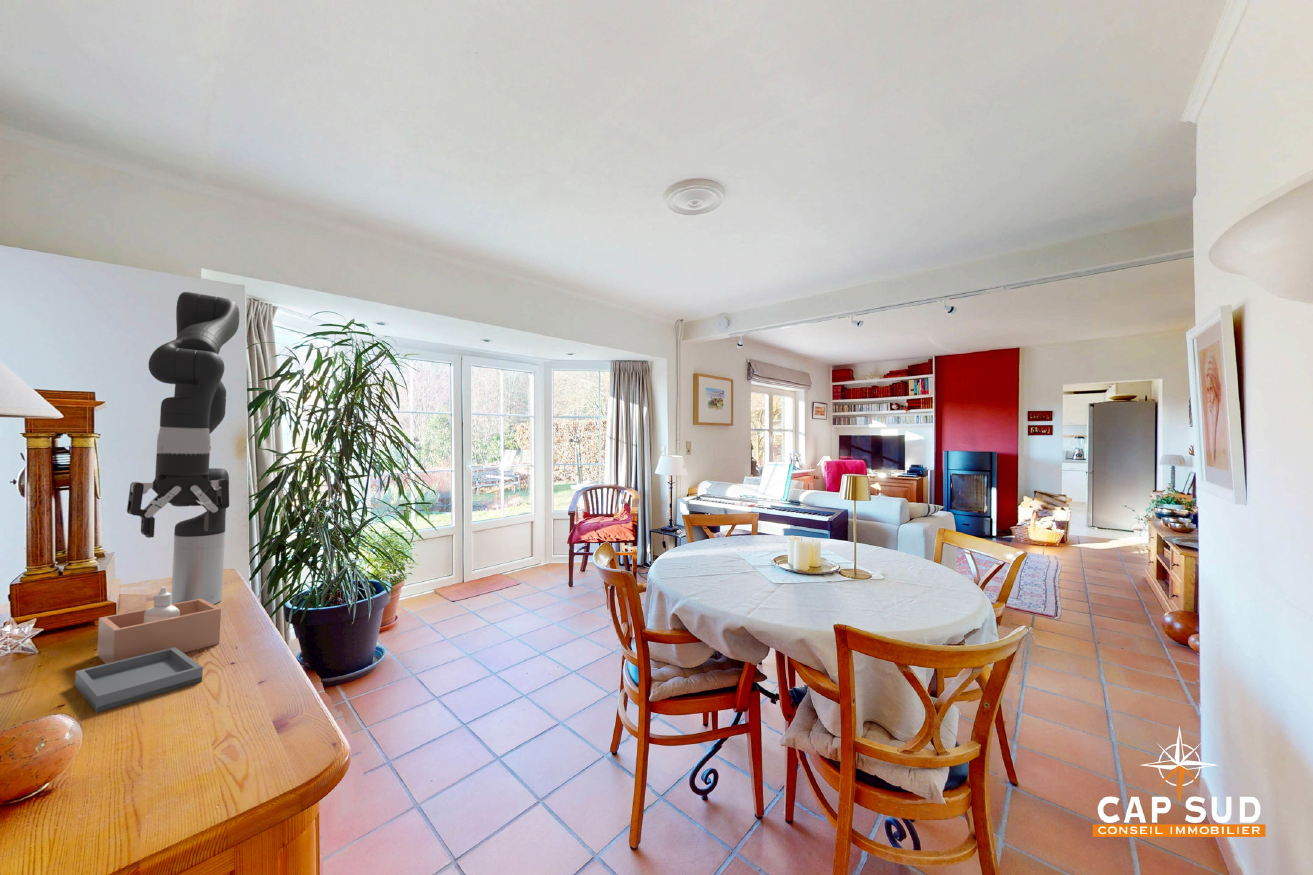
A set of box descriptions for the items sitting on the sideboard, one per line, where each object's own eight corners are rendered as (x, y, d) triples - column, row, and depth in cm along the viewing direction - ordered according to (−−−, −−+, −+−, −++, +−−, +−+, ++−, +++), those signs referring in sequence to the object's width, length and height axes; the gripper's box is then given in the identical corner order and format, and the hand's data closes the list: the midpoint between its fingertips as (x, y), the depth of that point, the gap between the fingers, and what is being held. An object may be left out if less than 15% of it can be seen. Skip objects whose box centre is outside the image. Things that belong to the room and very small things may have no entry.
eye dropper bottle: (147, 657, 92) (151, 592, 92) (140, 649, 95) (143, 586, 95) (179, 649, 95) (182, 587, 95) (171, 642, 98) (174, 582, 99)
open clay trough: (97, 655, 92) (99, 617, 92) (199, 631, 104) (201, 598, 104) (112, 670, 86) (114, 630, 86) (219, 643, 98) (220, 608, 99)
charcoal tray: (74, 685, 81) (75, 671, 81) (174, 659, 91) (175, 646, 91) (96, 712, 73) (97, 696, 73) (201, 681, 83) (202, 666, 84)
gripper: (222, 450, 104) (218, 526, 104) (125, 449, 92) (121, 536, 92) (237, 452, 100) (233, 531, 100) (138, 451, 88) (133, 542, 88)
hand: (179, 533), depth 96 cm, fingers open, 8 cm apart
